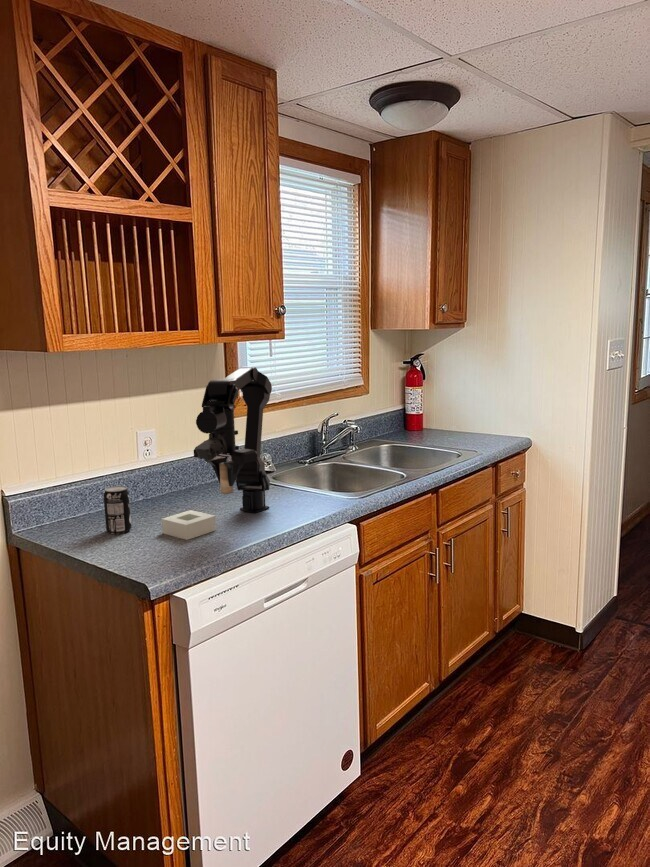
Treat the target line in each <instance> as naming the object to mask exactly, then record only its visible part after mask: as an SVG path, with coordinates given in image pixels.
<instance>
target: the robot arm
mask: <svg viewBox="0 0 650 867" xmlns="http://www.w3.org/2000/svg"><path fill="white" fill-rule="evenodd" d="M272 390H273V386H272V383H271V380H270V379H269V378H268V376H267V375H266V374H264V373H262V372H261V371H259V370H258V368H257V367H255V366H248V365H247V366H240V367H238V368H237V369H236V370H235V371H234V372H232V373H230V374H229V375H227V376H226V377H224V378H216V379H211V380H209V382H208V383H207V385H206V387H205V391H204V393H203V398H202V402H201V408H202V411H201V412H199V414H198V415H197V416H196V419H195V424H196V428H198V430H199V431H200V432H201V433H203V434H208V439H207V440H204V441H202V442H201V443H200V444H198V445H196V446H195V447H194V449H193V458H197V459H199V460H204V462H205V463H207V464H209V465H211V467H212V468H213V471H214V474H215V475H216V477H217V481H218V482H219V484H220V466H219V464H220V463H223V462H224V464H225V466H226V467H227V471H228V482H229V486H233V487H234V484H235V483H236V484H235V485H236V488H237V491H242V496H241V500H242V501H241V502H242V507H240V508H239V510H240V511H243V512H249V513H253V514H256V513H259V512H261V511H265V510H268V509H270V506H269V505H266V491H269V490H270V486H271V480H270V479H269V476H268V475H267V472H266V466H265V464H264V462H263V460H262V458H261V447H262V434H263V433H262V432H263V431H262V430H263V419H264V408H265V407H266V406H267V404H268V403H269V401H270V399H271V398H270V397H271V393H272ZM239 391H240V392H241V394H242V399H243V401H244V403H245V405H246V421H245V422H246V423H245V435H244V446H243V447H244V448H242V449H239V448H240V447H239V445H236V436H237V435H239V430H236V429H235V428H236V427H235V412H234V410H235V409H236V405H235V402H236V400H237V398H238V396H239Z"/></svg>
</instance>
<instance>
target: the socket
mask: <svg viewBox="0 0 650 867" xmlns="http://www.w3.org/2000/svg"><path fill="white" fill-rule="evenodd" d="M161 531H162V534H164V535H167V536H171V537H175V538H177V539H178V538H179V539H181V540H182V539H183V540H186V541H189V540H191V539H194V538H197V537H199V536H203V535H206V534H208V533H211V532H214V531H217V522H216V515H214V514H209V513H205V512H200V511H196V510H191V509H190V510H187V511H183V512H180V513H177V514H173V515H170V516H167V517H163V518H161Z"/></svg>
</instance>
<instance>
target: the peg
mask: <svg viewBox="0 0 650 867" xmlns="http://www.w3.org/2000/svg"><path fill="white" fill-rule="evenodd" d="M219 466H220V483H219V485H220V493H221V495H230V494H233V493H234V488H233V487H234V485H233V486H229V482H228V471H227V467H226V466H225V464H224V462H223V463H220V464H219Z"/></svg>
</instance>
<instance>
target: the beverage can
mask: <svg viewBox="0 0 650 867" xmlns="http://www.w3.org/2000/svg"><path fill="white" fill-rule="evenodd" d="M103 493H104V494H103V504H104V516H105V517H104V518H105V529H106V532H108V533H109V534H110V535H122V534H126V533H129V532H130V531H131V529H132V528H133V527H132V516H131V514H132V513H131V502H130V501H131V500H130V492H129V490H128V487H127V486H125V485H113V486H112V485H111V486H108V487H106V488H105V489H104V492H103Z"/></svg>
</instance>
